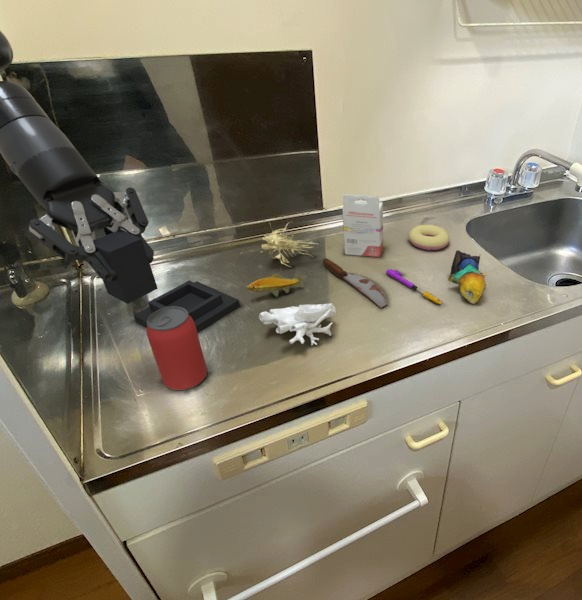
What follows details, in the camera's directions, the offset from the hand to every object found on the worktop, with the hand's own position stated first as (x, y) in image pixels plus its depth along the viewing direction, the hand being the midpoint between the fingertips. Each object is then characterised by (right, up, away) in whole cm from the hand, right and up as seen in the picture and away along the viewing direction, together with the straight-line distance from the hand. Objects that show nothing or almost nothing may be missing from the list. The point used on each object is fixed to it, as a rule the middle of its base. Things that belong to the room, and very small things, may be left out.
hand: (132, 269), depth 63 cm
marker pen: (+39, -2, +36) cm, 53 cm away
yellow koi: (+11, -3, +32) cm, 34 cm away
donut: (+43, +10, +53) cm, 68 cm away
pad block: (-2, -3, +3) cm, 5 cm away
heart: (+18, -10, +22) cm, 31 cm away
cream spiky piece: (+11, +5, +43) cm, 45 cm away
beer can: (+2, -17, +12) cm, 21 cm away
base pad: (-4, -7, +26) cm, 27 cm away
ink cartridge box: (+27, +7, +48) cm, 56 cm away
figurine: (+50, -2, +36) cm, 62 cm away
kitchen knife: (+27, -1, +37) cm, 46 cm away
